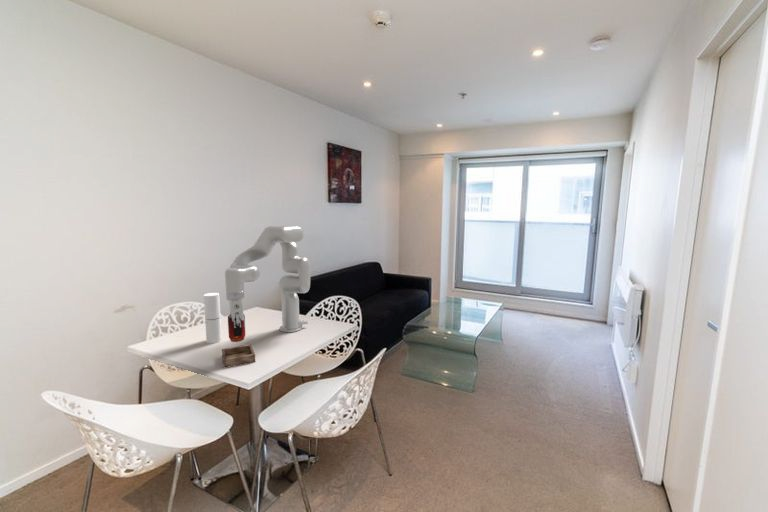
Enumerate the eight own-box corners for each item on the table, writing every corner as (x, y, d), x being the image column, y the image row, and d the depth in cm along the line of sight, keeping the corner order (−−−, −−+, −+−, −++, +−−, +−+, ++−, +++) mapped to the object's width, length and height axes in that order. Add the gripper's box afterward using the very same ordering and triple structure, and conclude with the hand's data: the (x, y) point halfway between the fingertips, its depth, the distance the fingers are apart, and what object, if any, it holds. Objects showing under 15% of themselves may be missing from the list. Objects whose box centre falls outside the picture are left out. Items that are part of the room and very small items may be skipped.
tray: (251, 351, 166) (251, 344, 166) (255, 361, 155) (255, 354, 154) (222, 356, 160) (221, 349, 160) (223, 367, 149) (223, 360, 148)
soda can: (243, 335, 161) (242, 310, 159) (247, 340, 155) (246, 314, 153) (227, 338, 157) (226, 313, 155) (230, 344, 151) (229, 317, 149)
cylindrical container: (215, 343, 174) (212, 296, 171) (203, 342, 176) (200, 295, 172) (224, 338, 181) (222, 293, 178) (212, 337, 183) (210, 292, 179)
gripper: (246, 298, 147) (248, 338, 150) (242, 290, 163) (243, 326, 165) (227, 300, 144) (229, 341, 146) (224, 291, 159) (226, 328, 161)
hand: (237, 332), depth 156 cm, fingers closed on soda can, 7 cm apart
